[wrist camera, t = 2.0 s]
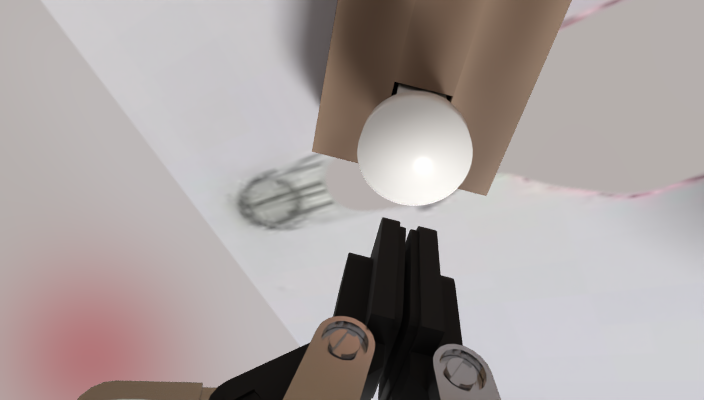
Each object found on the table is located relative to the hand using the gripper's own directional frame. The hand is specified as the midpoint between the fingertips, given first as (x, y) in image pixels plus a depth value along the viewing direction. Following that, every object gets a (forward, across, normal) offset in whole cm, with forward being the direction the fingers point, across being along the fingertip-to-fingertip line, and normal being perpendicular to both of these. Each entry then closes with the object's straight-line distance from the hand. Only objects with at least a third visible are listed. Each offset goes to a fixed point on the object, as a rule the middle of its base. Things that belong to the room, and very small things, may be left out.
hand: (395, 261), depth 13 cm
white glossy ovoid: (+16, -1, 0) cm, 16 cm away
